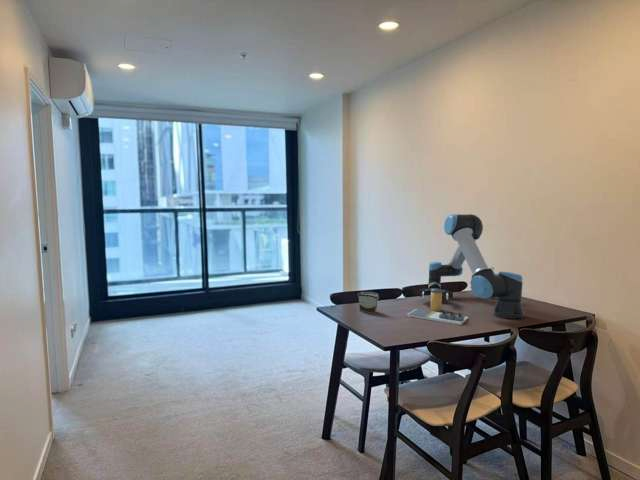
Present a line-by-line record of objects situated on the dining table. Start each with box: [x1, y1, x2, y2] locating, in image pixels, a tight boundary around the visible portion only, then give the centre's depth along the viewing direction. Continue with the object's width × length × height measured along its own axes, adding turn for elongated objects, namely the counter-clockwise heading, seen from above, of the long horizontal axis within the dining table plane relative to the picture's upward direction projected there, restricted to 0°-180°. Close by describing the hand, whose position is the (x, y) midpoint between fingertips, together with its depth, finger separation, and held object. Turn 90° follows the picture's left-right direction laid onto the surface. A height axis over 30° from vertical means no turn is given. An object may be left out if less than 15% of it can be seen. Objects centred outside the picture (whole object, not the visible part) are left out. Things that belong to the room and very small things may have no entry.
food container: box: [357, 291, 380, 314], centre depth 241 cm, size 12×6×10 cm, turn 57°
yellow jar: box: [429, 288, 444, 312], centre depth 245 cm, size 6×6×12 cm
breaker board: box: [406, 308, 469, 326], centre depth 229 cm, size 28×13×5 cm, turn 57°
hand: (435, 296), depth 252 cm, fingers open, 13 cm apart
